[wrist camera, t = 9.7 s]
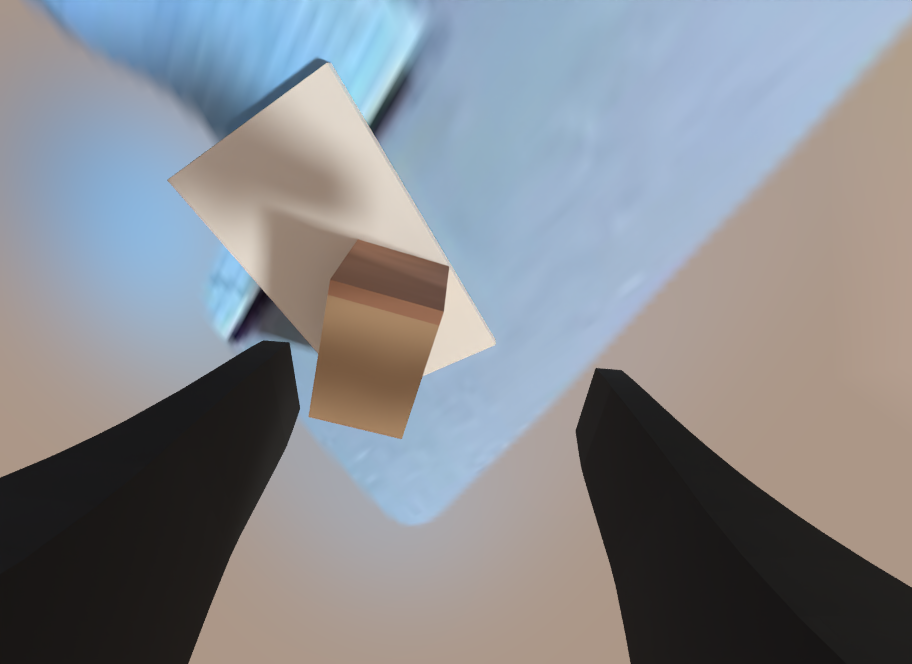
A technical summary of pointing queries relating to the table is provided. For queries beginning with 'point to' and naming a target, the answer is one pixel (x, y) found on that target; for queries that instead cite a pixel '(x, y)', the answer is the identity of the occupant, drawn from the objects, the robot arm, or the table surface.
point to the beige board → (318, 208)
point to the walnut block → (377, 338)
